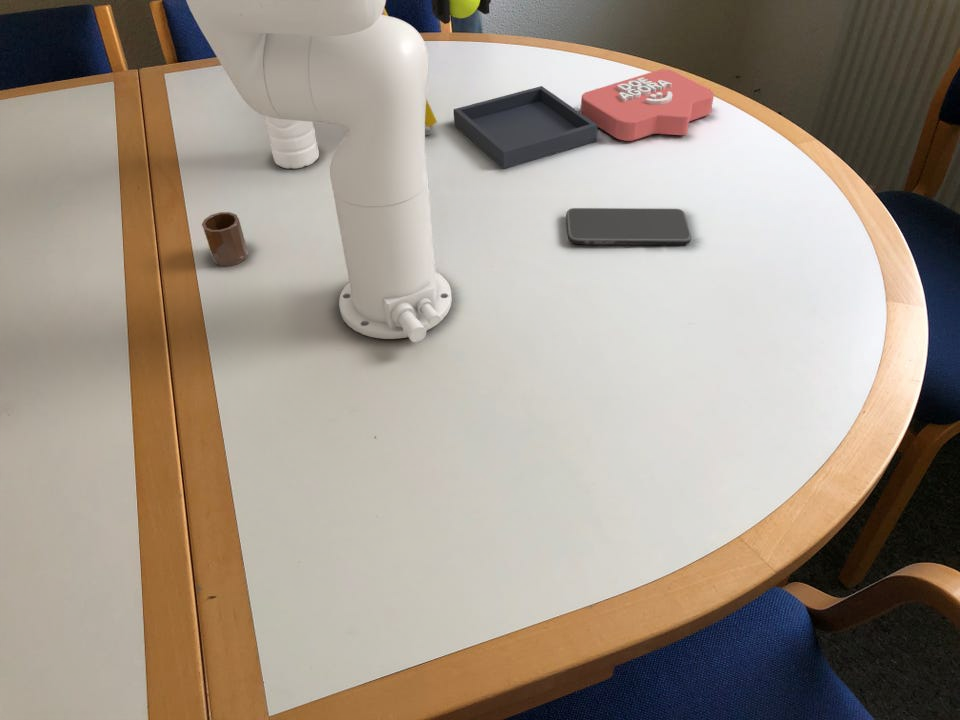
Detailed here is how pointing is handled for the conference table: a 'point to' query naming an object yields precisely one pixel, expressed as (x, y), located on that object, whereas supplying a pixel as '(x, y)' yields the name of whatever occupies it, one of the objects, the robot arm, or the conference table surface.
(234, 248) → the cup
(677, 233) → the smartphone
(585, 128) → the tray
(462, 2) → the ball
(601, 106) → the plaque
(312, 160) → the water bottle
